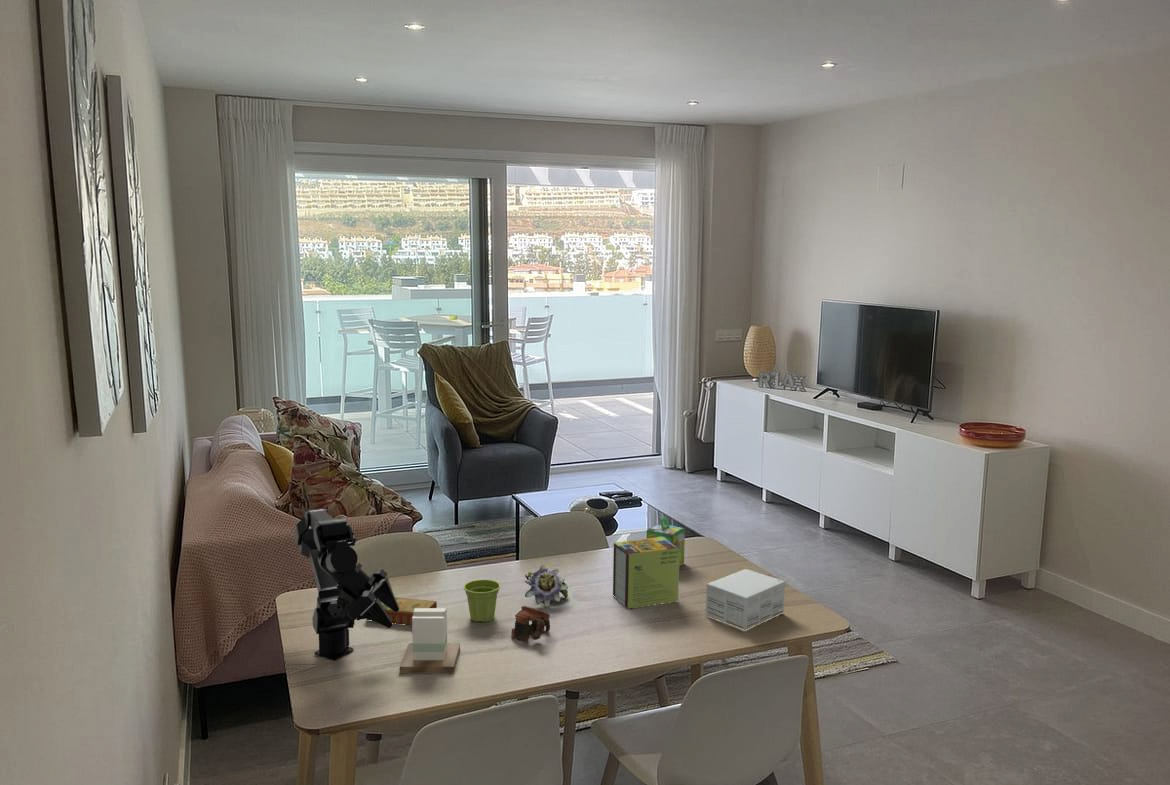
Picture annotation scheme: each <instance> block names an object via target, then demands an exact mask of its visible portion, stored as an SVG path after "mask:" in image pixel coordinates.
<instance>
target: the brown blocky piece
mask: <svg viewBox="0 0 1170 785" xmlns="http://www.w3.org/2000/svg"><path fill="white" fill-rule="evenodd" d="M550 616H551V614H549V613H547V612H545V611H542V610H540V609H536V608H533V607H530V606H526V605H523V606H521V610H519V611H518V612H517V613H516V614H515V622H514V627H513V628H511V632H510V633H511V635H510V638H512V639H514V640H516V641H519V642H522V643H526V644H528V643H529V641H530V637H531V639H532V640H535V641H536V640H540V639H541V636H542V634H543V633H544V630H545V633H549V632H550V629H551V624H550ZM530 622H531V624H530Z"/></svg>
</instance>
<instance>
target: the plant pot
mask: <svg viewBox="0 0 1170 785" xmlns="http://www.w3.org/2000/svg"><path fill="white" fill-rule="evenodd" d="M500 588H501V584H500V582H498V581H497V580H492V579H474V580H471V581H468V582H466V583H465V584H464V585H463V590H464V591H465V595H466V598H467V604H468V610H469V615H470V616H469V617H470V620H471V621H473V622H476V623H477V622H483V623H486V622H490V621H492V620H493V619H494V618H495V613H496V608H497V607H496V606H497V597H498V594H499V590H500Z"/></svg>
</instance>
